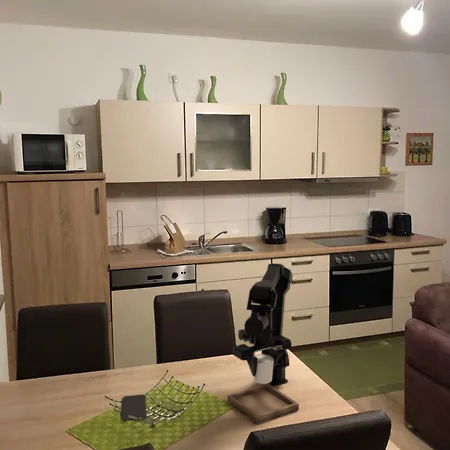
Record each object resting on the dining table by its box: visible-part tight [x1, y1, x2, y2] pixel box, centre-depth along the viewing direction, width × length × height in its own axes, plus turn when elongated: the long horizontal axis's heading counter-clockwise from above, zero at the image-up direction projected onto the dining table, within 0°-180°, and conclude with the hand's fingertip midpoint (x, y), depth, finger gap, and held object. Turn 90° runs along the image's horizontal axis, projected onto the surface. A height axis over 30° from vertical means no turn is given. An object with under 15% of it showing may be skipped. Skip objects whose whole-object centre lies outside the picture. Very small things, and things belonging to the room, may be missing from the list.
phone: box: [121, 394, 147, 422], centre depth 149 cm, size 7×1×15 cm
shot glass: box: [253, 353, 274, 385], centre depth 149 cm, size 7×7×7 cm
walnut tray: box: [227, 383, 300, 425], centre depth 150 cm, size 16×16×2 cm
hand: (262, 373), depth 149 cm, fingers closed on shot glass, 6 cm apart
